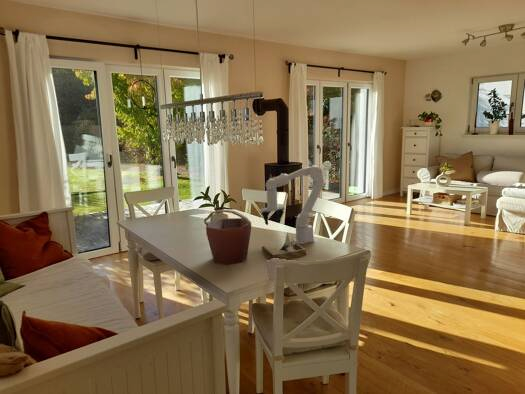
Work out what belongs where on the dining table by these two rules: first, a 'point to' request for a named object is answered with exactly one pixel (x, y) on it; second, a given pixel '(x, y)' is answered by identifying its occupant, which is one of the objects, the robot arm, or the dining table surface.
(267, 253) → the walnut u-shaped block
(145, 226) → the dining table surface
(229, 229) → the bucket
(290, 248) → the origami crane
